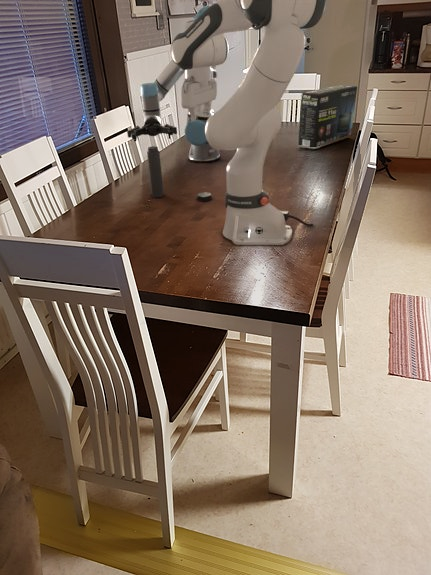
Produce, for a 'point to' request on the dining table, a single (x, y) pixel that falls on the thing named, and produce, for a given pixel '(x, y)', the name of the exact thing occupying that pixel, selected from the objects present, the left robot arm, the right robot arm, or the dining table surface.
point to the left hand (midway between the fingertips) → (152, 136)
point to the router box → (326, 115)
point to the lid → (204, 196)
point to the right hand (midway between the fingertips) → (200, 117)
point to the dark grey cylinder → (155, 171)
